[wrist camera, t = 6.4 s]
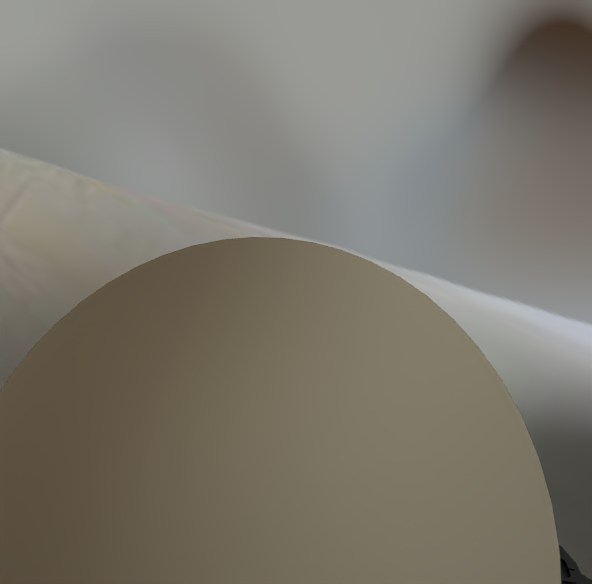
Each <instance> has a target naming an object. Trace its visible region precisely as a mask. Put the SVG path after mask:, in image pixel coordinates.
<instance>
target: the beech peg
mask: <svg viewBox="0 0 592 584" xmlns="http://www.w3.org/2000/svg"><path fill="white" fill-rule="evenodd" d="M0 584H561V567H560V551H559V545H558V539H557V533H556V526H555V520H554V514H553V508H552V502H551V499H550V495H549V492H548V488H547V485H546V481H545V478H544V474H543V470H542V467H541V463H540V460H539V457H538V454H537V452H536V449H535V447H534V445H533V442H532V440H531V437H530V435H529V432H528V430H527V428H526V425H525V423H524V420H523V418H522V416H521V414H520V412H519V410H518V408H517V407H516V405H515V403H514V401H513V399H512V397H511V396H510V394H509V392H508V390H507V388H506V387H505V385H504V383H503V381H502V379H501V378H500V377H499V375H498V374H497V372H496V371H495V369H494V368H493V367H492V365H491V364H490V362H489V361H488V360H487V358H486V357H485V355H484V354H483V353H482V351H481V350H480V348H479V347H478V346H477V345H476V344H475V343H474V341H473V340H472V339H471V338H470V337H469V336H468V335H467V334H466V333H465V331H464V330H463V329H462V328H461V327H460V326H459V325H458V324H457V322H456V321H455V320H454V319H453V318H452V317H450V316H449V315H448V314H447V313H446V312H445V311H444V310H442V309H441V308H440V307H439V306H438V305H437V304H436V303H435V302H433V301H432V300H431V299H430V298H429V297H428V296H426V295H425V294H424V293H422V292H421V291H419V290H418V289H416V288H415V287H414V286H412V285H411V284H409V283H408V282H406V281H405V280H403V279H402V278H401V277H399V276H397V275H395V274H393V273H391V272H390V271H388V270H386V269H384V268H382V267H380V266H378V265H377V264H375V263H373V262H371V261H368V260H366V259H363V258H361V257H358V256H356V255H353V254H350V253H348V252H345V251H343V250H340V249H336V248H332V247H328V246H324V245H321V244H317V243H313V242H307V241H300V240H293V239H286V238H262V237H250V238H238V239H226V240H219V241H214V242H209V243H204V244H199V245H194V246H191V247H188V248H184V249H181V250H178V251H175V252H172V253H168V254H165V255H163V256H160V257H158V258H156V259H154V260H151V261H149V262H147V263H144V264H142V265H140V266H137V267H135V268H134V269H132V270H130V271H128V272H127V273H125V274H123V275H121V276H119V277H118V278H116V279H114V280H112V281H111V282H109V283H107V284H106V285H104V286H103V287H102V288H100V289H99V290H97V291H96V292H95V293H93V294H92V295H90V296H89V297H87V298H86V299H85V300H83V301H82V302H81V303H79V304H78V305H77V306H76V307H75V308H74V309H72V310H71V311H70V312H69V313H68V314H67V315H66V316H64V317H63V318H62V319H61V320H60V321H59V322H57V323H56V324H55V325H54V326H53V327H52V328H51V329H50V330H49V332H48V333H47V334H46V335H45V336H44V337H43V338H42V339H41V340H40V341H39V342H38V343H37V344H36V345H35V346H34V347H33V348H32V349H31V351H30V352H29V353H28V354H27V356H26V357H25V358H24V360H23V361H22V362H21V363H20V365H19V366H18V367H17V369H16V370H15V371H14V372H13V374H12V375H11V376H10V378H9V379H8V380H7V382H6V383H5V385H4V386H3V388H2V390H1V391H0Z"/></svg>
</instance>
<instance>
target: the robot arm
mask: <svg viewBox="0 0 592 584" xmlns="http://www.w3.org/2000/svg"><path fill="white" fill-rule="evenodd" d="M559 551H560V567H561V584H592V580H590V579H588V578H586V577H585V576H584V575H582V574H581V573H580V570H579V568H578V566H577V564H576V563H575V562H574V561H573V559H572V558H571V557H570V556H569V555H568V554H567V552H566V551H565V550H564V549H563V548H562V547H561V546H560V545H559Z"/></svg>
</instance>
